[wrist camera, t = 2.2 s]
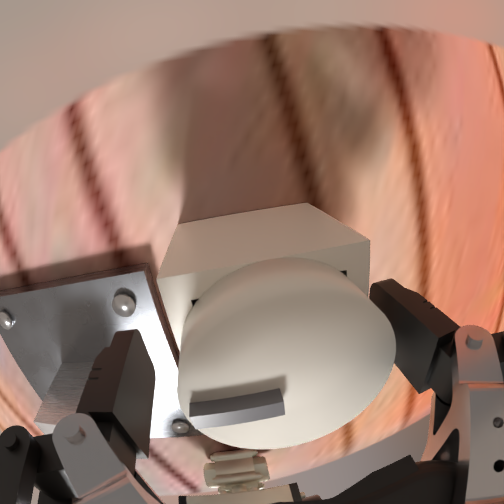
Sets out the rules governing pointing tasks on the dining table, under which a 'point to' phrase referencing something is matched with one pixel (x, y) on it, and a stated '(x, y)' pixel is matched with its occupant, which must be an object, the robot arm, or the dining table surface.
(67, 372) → the shaft mount
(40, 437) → the robot arm
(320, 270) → the knob
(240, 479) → the pneumatic valve
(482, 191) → the dining table surface
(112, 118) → the dining table surface
